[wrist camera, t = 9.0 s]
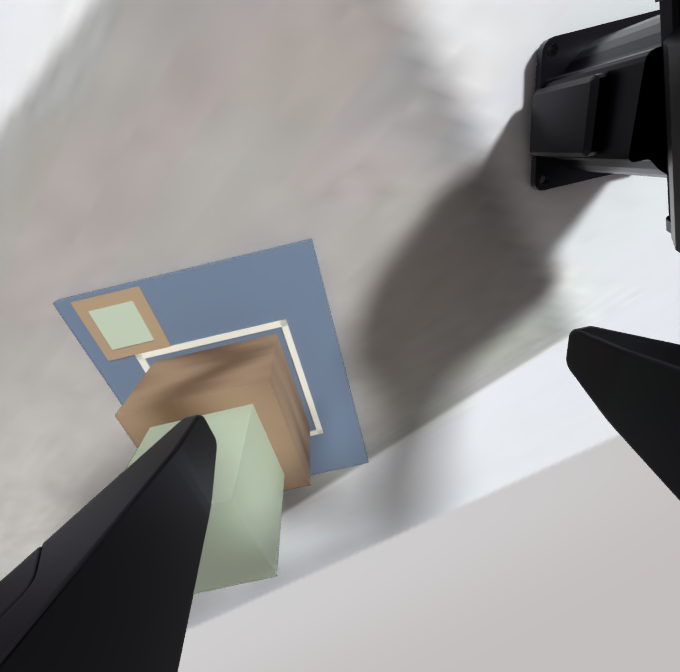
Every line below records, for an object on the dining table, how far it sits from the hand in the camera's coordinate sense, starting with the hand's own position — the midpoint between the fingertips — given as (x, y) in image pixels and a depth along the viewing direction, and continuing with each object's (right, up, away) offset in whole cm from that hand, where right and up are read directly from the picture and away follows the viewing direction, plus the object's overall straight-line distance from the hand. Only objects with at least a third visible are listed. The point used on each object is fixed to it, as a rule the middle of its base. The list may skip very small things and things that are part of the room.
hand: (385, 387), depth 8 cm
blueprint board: (-8, -3, +16) cm, 18 cm away
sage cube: (-8, -5, +11) cm, 14 cm away
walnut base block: (-8, -3, +15) cm, 17 cm away
